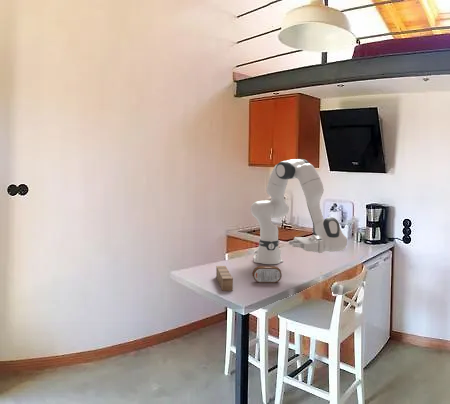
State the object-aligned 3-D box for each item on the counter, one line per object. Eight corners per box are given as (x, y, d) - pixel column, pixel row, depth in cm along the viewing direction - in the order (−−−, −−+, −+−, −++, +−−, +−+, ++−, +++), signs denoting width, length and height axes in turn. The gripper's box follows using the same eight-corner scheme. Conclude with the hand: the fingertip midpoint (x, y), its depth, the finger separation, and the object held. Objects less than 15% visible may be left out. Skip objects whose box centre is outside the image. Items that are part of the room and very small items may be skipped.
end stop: (216, 277, 210) (216, 266, 209) (225, 276, 210) (225, 265, 210) (222, 290, 186) (222, 278, 185) (232, 290, 187) (232, 278, 186)
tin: (280, 281, 203) (281, 265, 203) (281, 283, 200) (282, 267, 199) (252, 281, 203) (252, 265, 202) (252, 283, 200) (253, 267, 199)
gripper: (309, 234, 213) (284, 234, 211) (324, 241, 193) (297, 241, 191) (308, 245, 214) (284, 246, 212) (323, 253, 194) (296, 254, 192)
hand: (290, 243), depth 201 cm, fingers open, 5 cm apart
